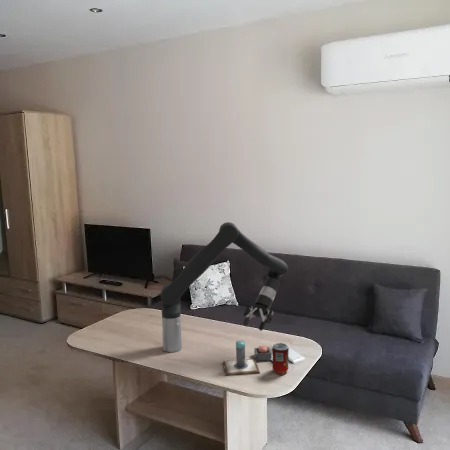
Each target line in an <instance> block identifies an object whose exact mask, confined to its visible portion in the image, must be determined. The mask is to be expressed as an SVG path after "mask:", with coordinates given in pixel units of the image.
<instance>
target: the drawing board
mask: <svg viewBox="0 0 450 450" xmlns="http://www.w3.org/2000/svg"><path fill="white" fill-rule="evenodd" d="M222 363H223V364H222V365H223V369H224V372H225V376H226V377H228V376H241V375H243V376H244V375H256V374H257V375H258V374H261V372H260V369H259V367H258V365H257V360H256V358H250V359H249V358H248V359H246V358H245V367H237V366H236V359H233V360H223V361H222Z"/></svg>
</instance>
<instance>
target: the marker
mask: <svg viewBox="0 0 450 450" xmlns="http://www.w3.org/2000/svg"><path fill="white" fill-rule="evenodd" d="M235 352H236V353H235V355H236V357H235V358H236V359H235V360H236V366H237V367H245V359H246V341H244V340H236V342H235Z"/></svg>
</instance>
